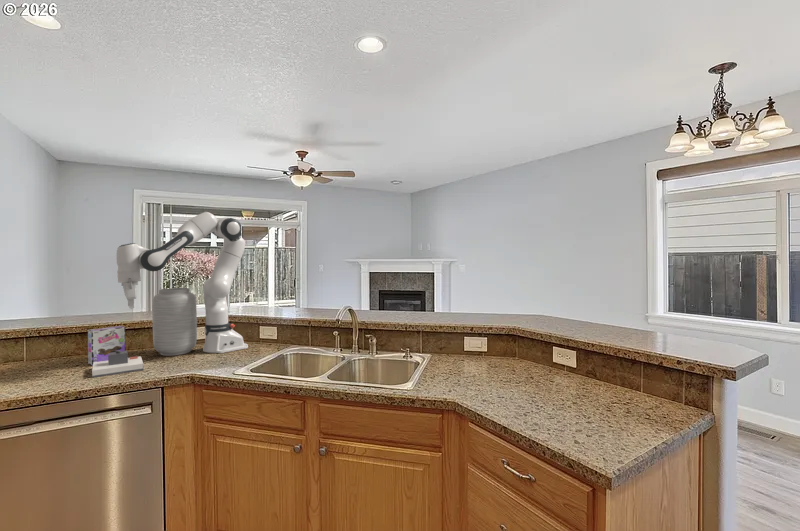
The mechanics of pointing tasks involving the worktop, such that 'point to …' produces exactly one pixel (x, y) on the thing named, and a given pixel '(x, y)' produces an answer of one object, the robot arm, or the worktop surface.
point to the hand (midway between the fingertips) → (131, 307)
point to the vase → (174, 321)
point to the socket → (117, 367)
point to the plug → (118, 357)
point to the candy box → (105, 343)
